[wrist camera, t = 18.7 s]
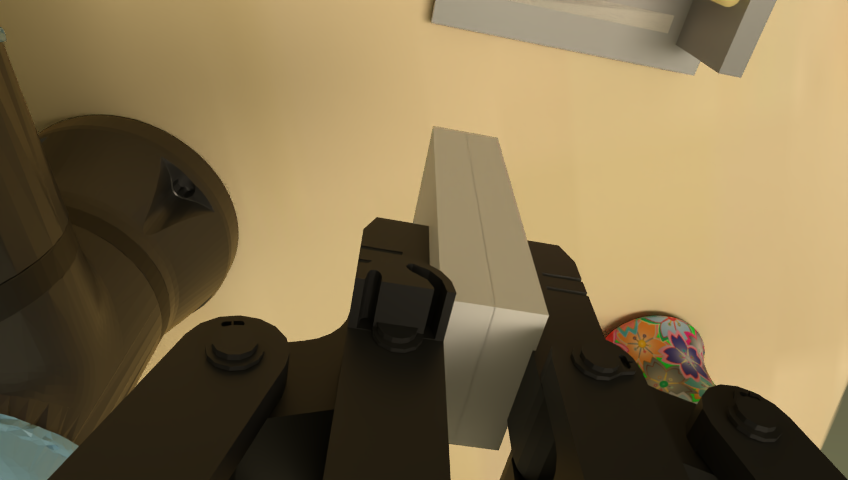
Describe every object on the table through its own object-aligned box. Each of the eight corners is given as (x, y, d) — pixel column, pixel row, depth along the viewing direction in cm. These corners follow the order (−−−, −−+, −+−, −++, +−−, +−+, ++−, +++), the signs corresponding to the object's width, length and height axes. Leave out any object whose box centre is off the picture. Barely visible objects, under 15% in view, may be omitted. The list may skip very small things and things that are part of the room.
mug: (593, 305, 47) (634, 410, 38) (715, 302, 47) (787, 407, 37) (577, 417, 53) (609, 531, 44) (685, 415, 53) (740, 529, 44)
